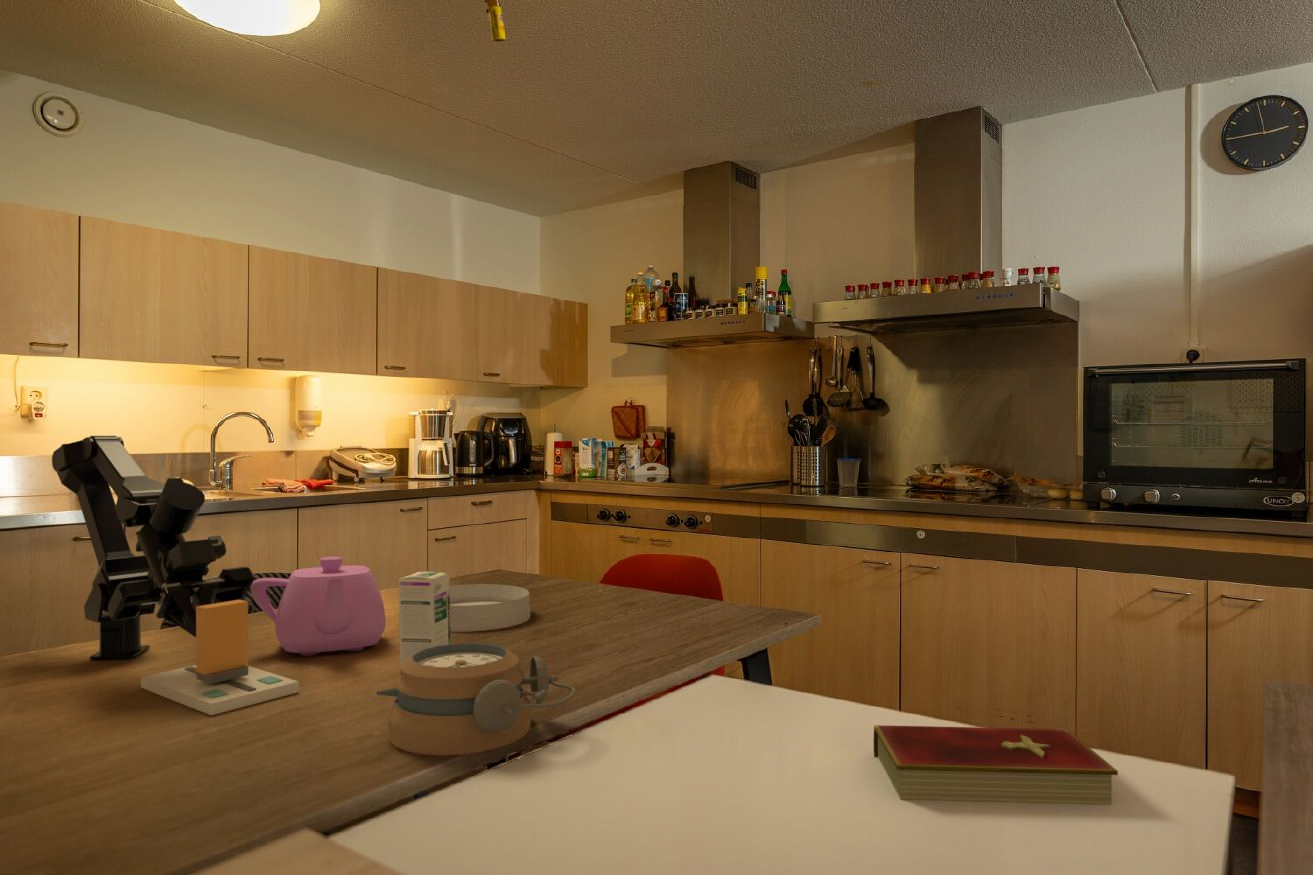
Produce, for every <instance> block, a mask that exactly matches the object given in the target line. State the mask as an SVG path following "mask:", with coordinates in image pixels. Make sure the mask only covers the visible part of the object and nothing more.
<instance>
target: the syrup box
mask: <svg viewBox="0 0 1313 875" xmlns="http://www.w3.org/2000/svg"><path fill="white" fill-rule="evenodd" d="M449 586H450V573H449V572H443V571H434V570H433V571H416V572H415V573H411V574H410V575H407V576H404V577H403V576H402V577H400V578H399V579H398V612H399V613H398V619H399V621H398V623H399V624H398V625H399V628H398V629H399V666H400V665H401V664H402V662H403V661H405V660H406V659H408V658H409V657H411V656H412V655H414V654H416V653H417V652H419V651H421V650H424V649H427V648H431V647H435V646H441V645H447V644H451V631H450V591H449Z"/></svg>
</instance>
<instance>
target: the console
mask: <svg viewBox="0 0 1313 875" xmlns="http://www.w3.org/2000/svg"><path fill="white" fill-rule="evenodd" d="M246 666H248V675H246V676H242V677H238V678H234V679H229V680H225V681H221V682H217V683H212V684H210V683H207V682H204V681H201V680H198V679H197V672H196V664H195V665H191V666H186V667H181V668H177V669H173V670H167V671H163V672H159V673H153V674H149V675H145V676H140V688H141V689H144V690H146V691H149V692H151V693H154V694H156V695H159V696H161V697H164V698H167V699H169V700H171V701H174V702H176V703H179V704H182V705H184V706H186V707H188V708H191V709H194V710H197V711H199V712H202V713H204V714H206V715H208V716H209V715H210V716H214V715H217V714H218V715H219V714H222V713H226V712H230V711H232V710H236V709H241V708H245V707H248V706H251V705H255V704H259V703H263V702H267V701H270V700H274V699H278V698H282V697H285V696H290V695H293V694H297V693H299V680H294V679H291V678H288V677H284V676H282V675H279V674H275V673H273V672H270V671H265V670H262V669H261V668H260V669H259V668H257V667H253V666H250V665H246Z"/></svg>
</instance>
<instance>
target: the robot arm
mask: <svg viewBox="0 0 1313 875" xmlns="http://www.w3.org/2000/svg"><path fill="white" fill-rule="evenodd" d="M124 442H125V441H124V439H123V438H122V437H121V436H117V435H90V436H89V437H88V436H86V437H84V438H83V439H82V440H77V441H74V442H69V443H63V444H61V445H60V447H58V448H56V449H54V451H53V453H52V455H51V456H52V457H51V465H52V469H53V470H54V471H55V472H56V473H57V476H58V479H59V480H60V483H61V485H62V486H64V487H66V489H68V490H70V491H71V492H73V493H74V494H75V495H76V496H77V499H78V502H79V506H80V509H81V512H82V516H83V519H84V522H85V524H86V528H87V532H88V535H89V538H90V541H91V545H92V548H93V551H94V554H95V556H96V561H97V564H98V569H97V571H96V574H95V575H94V578H93V580H92V583H91V585H92V586H91V587H92V588H91V591H90V592H89V595H88V597H87V599H86V602H85V603H84V606H83V609H84V616H85V619H86V620H88V621H90V622H94V623H99V625H98V626H99V627H98V628H99V631H98V632H99V634H98V635H99V636H98V637H99V638H98V639H99V648H98V649H99V651H97V652H95V653H94V654H91V655H90V656H89V660H105V659H106V660H107V659H108V660H109V659H111V660H115V659H131V658H135V657H136V656H138V655H141V654H143V653H144V652H146V651H147V650H149V649H150V647H151V646H150V645H149V644H148V645H145V644H144V645H142V634H141V633H142V624H141V622H142V620H141V616H142V615H154V614H155V609H156V605H157V607H158V610H157V612H156V614H155V616H156V618H157V619H164V620H167V621H168V622H170V623H172V624H174V625H175V626H178V627H180V629H183V631H186V632H187V633H189V635H192V637H195V638H196V606H203V605H209V604H213V601H215V602H216V603H221V602H227V601H234V600H243V599H244V598H245V597H246V595H247V593H248V592H249V590H250V586H251V584H252V583H253V581H255V580H256V577H255V575H254V573H253V571H252V569H251V568H250V567H248V566H238V567H230V568H229V567H228V568H223V569H222V570H221V571H220V574H219V575H218V577H217V578H213V579H211V578H210V579H204V578H203V577H204V576H207V575H208V573H209V571H210V569H209V567H208V565H210V564H211V563H213V562H216V561H217V560H220V559H221V558H222V557H224V556H225V555H226V553H227V548H226V544H225V541H224V539H223V538H222V536H221V535H211V536H208V537H207V538H206V539H197V540H186V539H185V537H184V535H183V534H186V533H188V532H189V531H190V530H191V529H192V527H193V525H194V523H195V522H196V519H197V517H198V516H199V514H200V511H201V509H202V507H203V505H204V503H205V502H206V501H205V500H206V497H205V494H204V491H202V490H200V489H199V488H198V487H197V486H195V485H193V484H190V483H186V482H184V480H183V478H182V477H168V478H167V479H166V481H165V484H164V483H163V482H161V481H158V480H154V479H151V478H149V477H148V476H147V475H146V474H145V473H144V471H143V470H142V469H141V468H140V466H139V465H138V464H137V462H136V461H135V459H134V458H133V456H132V455H131V454H130V453H129V452H128V450H127V448H125V443H124ZM112 491H113V492H112ZM113 493H114V494H115V495H116V499H117V500H116V502H115V499H114V498H115V497H114V496H113ZM124 527H126V528H138V527H141V528H140V529H139V531H138V534H137V535H136V539H137V542H136V543H135V552H137V553H140V552H142V553H143V555H135V554H133V552H132V550H131V547H130V544H129V541H128V539H127V535H126V532H125V528H124Z"/></svg>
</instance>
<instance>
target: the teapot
mask: <svg viewBox="0 0 1313 875" xmlns="http://www.w3.org/2000/svg"><path fill="white" fill-rule="evenodd" d="M343 560H344V558H343V557H341V556H325V557H321V558H320V559H319V563H320V566H315V567H307V568H306V567H305V568H298V569H295V570H294V571H293V572H291V574H290V576H289V578H278V577H262V578H258V579H254V581H253V583H252V584H251V586H250V588H249V590H250V593H251V596H252V599H253V600H254V601H255V603H256V605H257V606H259V608H260V609H261V610H262V611H263V613H265V614H266V616H268V617H269V618H270V620H272V621H273V623H275V629H274V630H275V635H276V638H277V640H278V642H279V644H280V646H281V647H282V649H283V650H284V652H287V653H291V654H293V653H294V654H295V653H296V654H300V656H314V655H318V654H320V653H325V652H327V653H328V652H336V651H347V652H357V651H362V650H364V648H365V647H366V648H367V647H371V646H374V645H376V644H378V643H379V641H380V639H381V638H382V636H383V634H384V631H385V629H386V626H387V625H386V621H387V620H386V613H385V612H386V611H385V605H384V601H383V598H382V594H381V591H380V589H379V586H378V584H377V581H376V579H375V577H374V574H373V573H372V571H371V570H370V568H369V567H368V566H366V565H342V564H343ZM270 587H284V590H283V592H282V595H281V598H280V600H279V604H278V607H277V611H276V609H275V608H274V606H273V605H272V603H271V601H270V599H269V597H268V595H267V594H268V593H267V589H268V588H270Z"/></svg>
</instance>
